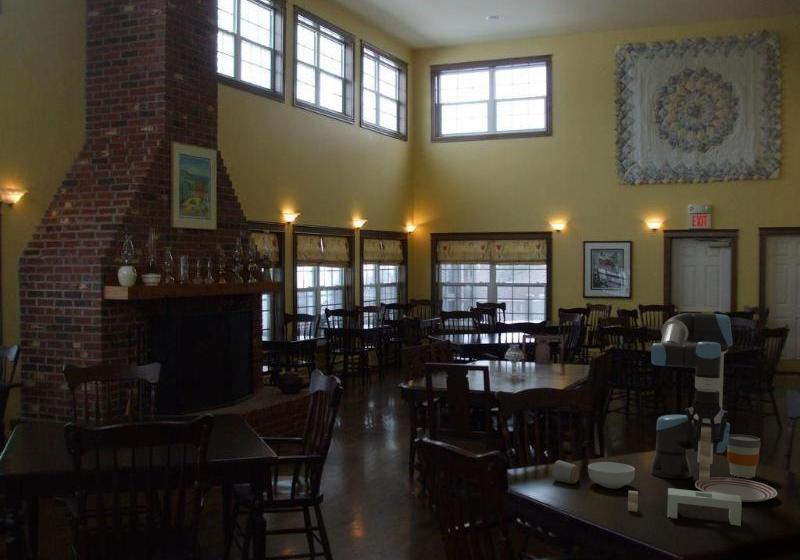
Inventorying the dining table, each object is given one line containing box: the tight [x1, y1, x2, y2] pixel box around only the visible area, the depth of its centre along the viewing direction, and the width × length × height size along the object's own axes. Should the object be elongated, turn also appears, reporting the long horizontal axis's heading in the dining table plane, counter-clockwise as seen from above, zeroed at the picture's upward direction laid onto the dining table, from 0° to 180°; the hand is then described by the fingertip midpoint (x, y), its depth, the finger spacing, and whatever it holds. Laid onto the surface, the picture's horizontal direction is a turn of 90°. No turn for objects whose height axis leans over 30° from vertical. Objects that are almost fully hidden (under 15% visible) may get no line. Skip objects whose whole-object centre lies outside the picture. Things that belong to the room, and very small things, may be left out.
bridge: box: [666, 487, 743, 527], centre depth 263 cm, size 8×22×8 cm, turn 72°
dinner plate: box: [694, 476, 778, 503], centre depth 292 cm, size 27×27×3 cm
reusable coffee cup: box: [726, 434, 762, 479], centre depth 321 cm, size 12×13×15 cm
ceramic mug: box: [551, 459, 580, 485], centre depth 305 cm, size 11×8×8 cm
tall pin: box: [698, 426, 711, 484], centre depth 263 cm, size 3×3×18 cm
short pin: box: [627, 490, 639, 513], centre depth 270 cm, size 3×3×6 cm
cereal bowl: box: [587, 461, 636, 489], centre depth 300 cm, size 17×17×7 cm
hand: (704, 462), depth 263 cm, fingers closed on tall pin, 3 cm apart
